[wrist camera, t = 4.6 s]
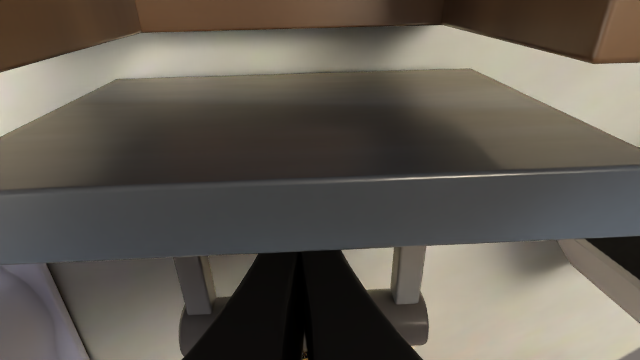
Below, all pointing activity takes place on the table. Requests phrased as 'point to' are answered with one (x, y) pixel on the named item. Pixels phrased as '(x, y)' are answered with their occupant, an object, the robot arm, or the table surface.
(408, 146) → the drawer
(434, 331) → the table surface
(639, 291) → the padlock
